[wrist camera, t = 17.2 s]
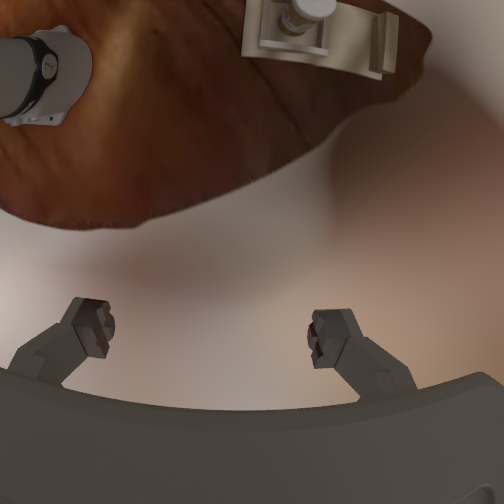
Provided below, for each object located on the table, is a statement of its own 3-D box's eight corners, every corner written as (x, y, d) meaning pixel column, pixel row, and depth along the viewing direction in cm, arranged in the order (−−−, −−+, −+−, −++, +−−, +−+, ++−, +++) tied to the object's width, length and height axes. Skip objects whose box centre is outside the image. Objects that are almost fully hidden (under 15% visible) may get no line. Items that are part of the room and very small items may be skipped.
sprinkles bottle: (272, 15, 31) (288, -15, 19) (301, 9, 30) (328, -20, 18) (283, 40, 33) (304, 20, 21) (312, 34, 32) (343, 14, 21)
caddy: (241, 56, 35) (242, 50, 30) (247, -10, 29) (249, -24, 24) (377, 80, 37) (396, 80, 32) (382, 18, 31) (401, 11, 25)
